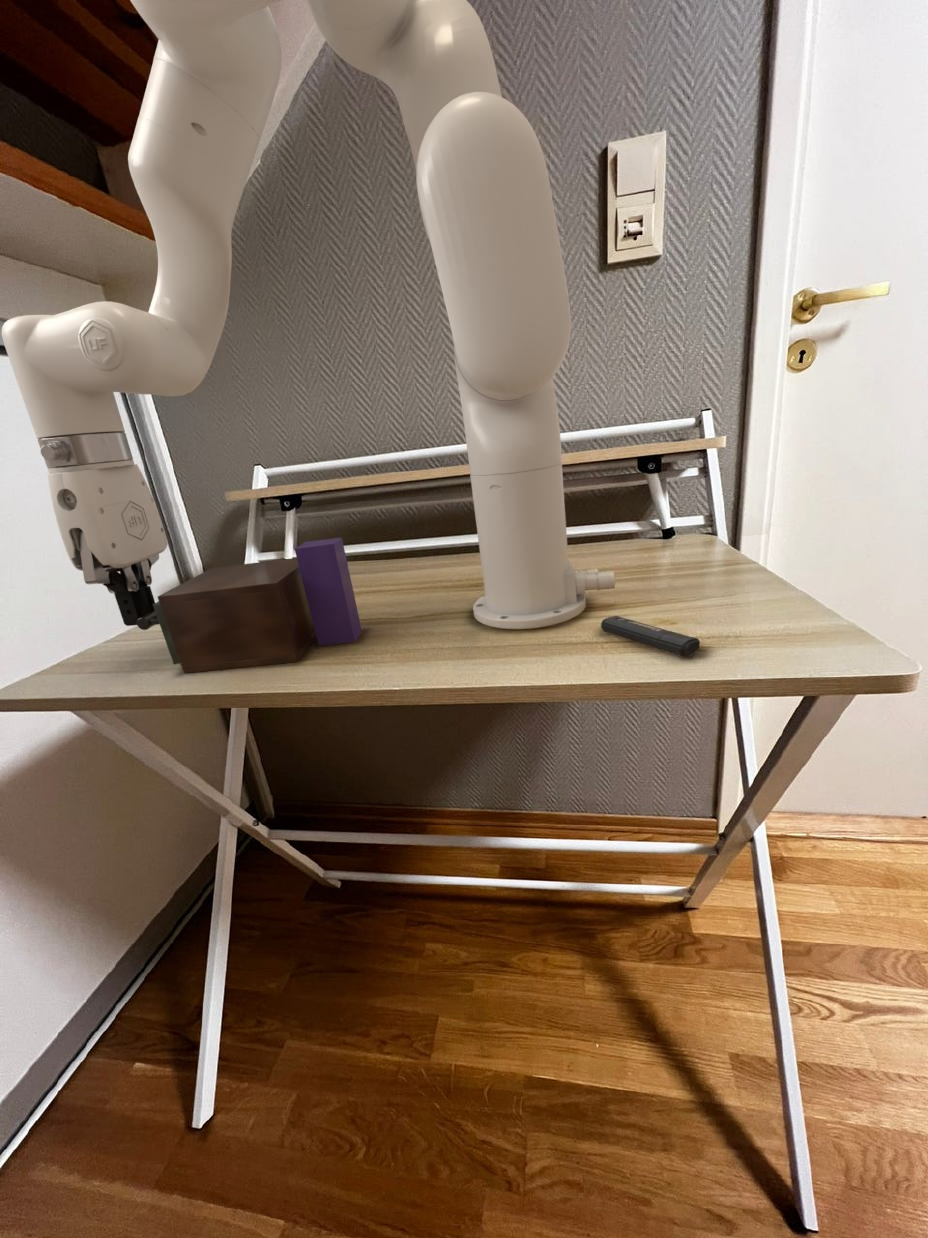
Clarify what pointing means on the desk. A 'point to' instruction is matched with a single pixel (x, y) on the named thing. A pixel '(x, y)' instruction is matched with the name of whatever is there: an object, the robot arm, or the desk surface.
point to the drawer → (158, 618)
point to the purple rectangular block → (329, 591)
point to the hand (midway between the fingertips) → (142, 622)
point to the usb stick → (651, 636)
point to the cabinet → (240, 616)
